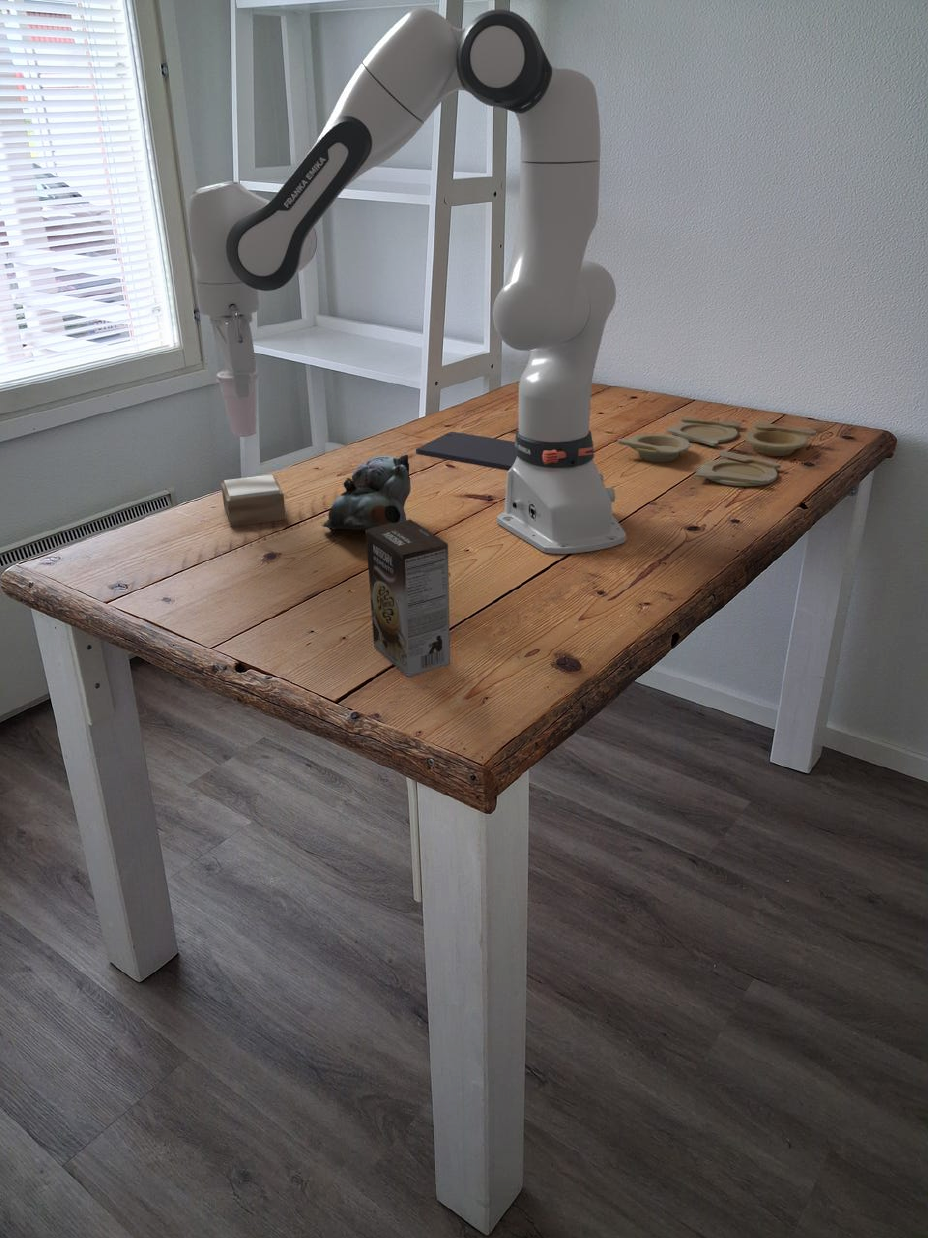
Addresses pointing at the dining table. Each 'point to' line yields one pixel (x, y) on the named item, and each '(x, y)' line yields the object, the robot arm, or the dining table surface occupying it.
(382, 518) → the grey lumpy figure
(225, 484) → the pedestal
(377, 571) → the coffee box
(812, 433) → the tableware set
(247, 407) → the smoothie
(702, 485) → the dining table surface
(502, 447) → the notebook
